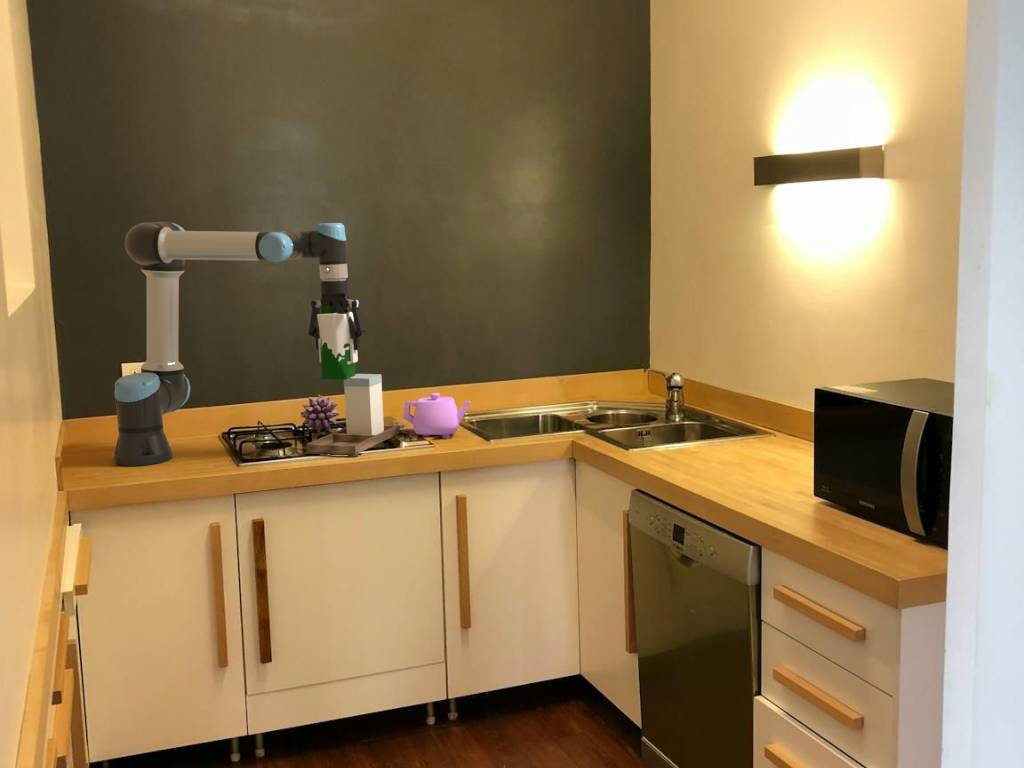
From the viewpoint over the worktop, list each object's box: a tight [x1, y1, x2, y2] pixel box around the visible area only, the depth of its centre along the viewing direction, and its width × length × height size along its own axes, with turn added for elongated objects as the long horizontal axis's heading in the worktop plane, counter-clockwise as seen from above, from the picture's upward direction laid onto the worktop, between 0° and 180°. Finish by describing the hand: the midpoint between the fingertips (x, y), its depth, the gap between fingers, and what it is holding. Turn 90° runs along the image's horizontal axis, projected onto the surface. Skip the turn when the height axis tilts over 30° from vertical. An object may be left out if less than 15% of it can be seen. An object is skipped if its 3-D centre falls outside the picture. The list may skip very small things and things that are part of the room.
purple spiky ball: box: [300, 394, 340, 434], centre depth 320 cm, size 12×12×12 cm
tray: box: [305, 424, 401, 458], centre depth 303 cm, size 15×29×3 cm, turn 162°
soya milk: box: [317, 305, 356, 380], centre depth 292 cm, size 9×9×20 cm
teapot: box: [402, 392, 471, 440], centre depth 311 cm, size 20×12×13 cm, turn 88°
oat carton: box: [343, 373, 385, 435], centre depth 308 cm, size 8×8×18 cm
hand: (338, 361), depth 293 cm, fingers closed on soya milk, 9 cm apart
